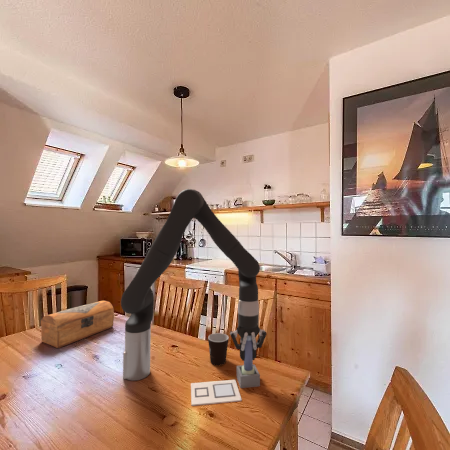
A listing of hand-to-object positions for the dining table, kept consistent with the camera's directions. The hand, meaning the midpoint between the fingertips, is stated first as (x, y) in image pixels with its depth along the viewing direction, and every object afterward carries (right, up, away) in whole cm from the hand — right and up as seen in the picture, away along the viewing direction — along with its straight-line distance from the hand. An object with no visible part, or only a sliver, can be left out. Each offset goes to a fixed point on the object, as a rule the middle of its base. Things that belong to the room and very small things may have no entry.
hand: (248, 359), depth 92 cm
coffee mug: (-11, -8, +15) cm, 20 cm away
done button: (0, -8, 0) cm, 8 cm away
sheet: (-12, -8, -6) cm, 16 cm away
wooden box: (-84, -8, +40) cm, 93 cm away
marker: (0, -3, -1) cm, 3 cm away
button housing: (0, -8, 0) cm, 8 cm away
